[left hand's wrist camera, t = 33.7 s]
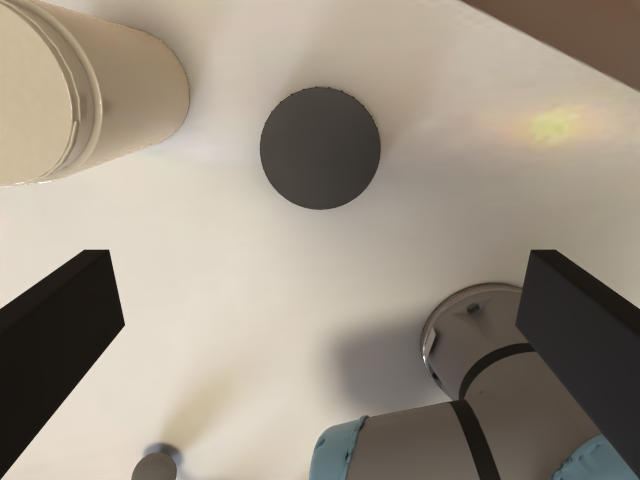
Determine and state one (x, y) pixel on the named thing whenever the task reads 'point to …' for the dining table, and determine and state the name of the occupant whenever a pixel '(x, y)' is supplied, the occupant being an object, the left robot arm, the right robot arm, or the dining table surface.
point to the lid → (320, 148)
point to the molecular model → (155, 468)
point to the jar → (80, 92)
